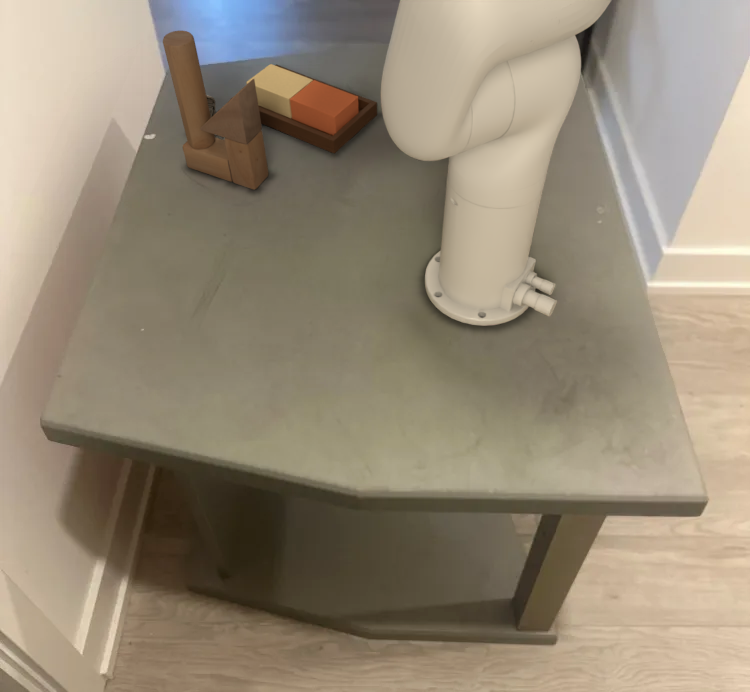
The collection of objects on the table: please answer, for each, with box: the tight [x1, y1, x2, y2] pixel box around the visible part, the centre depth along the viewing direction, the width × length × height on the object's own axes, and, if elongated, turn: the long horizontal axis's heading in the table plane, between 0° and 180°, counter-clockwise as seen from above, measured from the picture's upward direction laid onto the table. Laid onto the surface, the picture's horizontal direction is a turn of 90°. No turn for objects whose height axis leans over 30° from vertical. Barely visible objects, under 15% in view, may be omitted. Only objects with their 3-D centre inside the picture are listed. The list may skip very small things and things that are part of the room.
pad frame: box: [229, 64, 378, 154], centre depth 105 cm, size 18×11×2 cm, turn 57°
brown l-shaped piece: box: [162, 30, 269, 190], centre depth 91 cm, size 4×11×18 cm, turn 64°
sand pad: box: [245, 63, 313, 118], centre depth 106 cm, size 8×6×3 cm
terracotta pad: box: [290, 80, 359, 135], centre depth 103 cm, size 8×6×3 cm
